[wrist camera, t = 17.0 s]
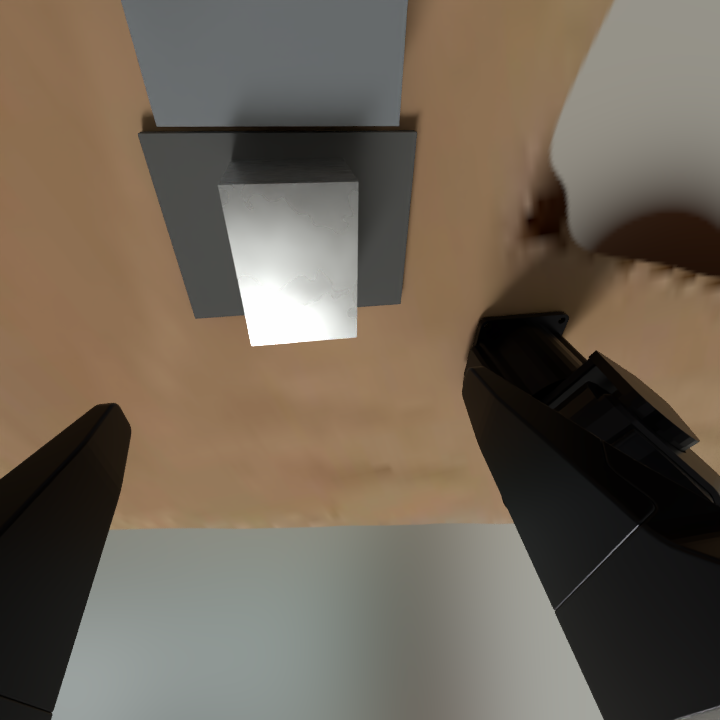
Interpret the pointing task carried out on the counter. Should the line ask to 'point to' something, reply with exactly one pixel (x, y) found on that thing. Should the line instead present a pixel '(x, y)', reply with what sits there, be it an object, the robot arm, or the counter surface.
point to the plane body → (270, 61)
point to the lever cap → (294, 246)
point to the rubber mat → (217, 148)
